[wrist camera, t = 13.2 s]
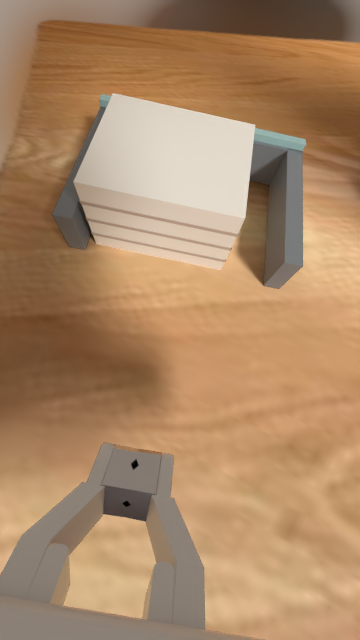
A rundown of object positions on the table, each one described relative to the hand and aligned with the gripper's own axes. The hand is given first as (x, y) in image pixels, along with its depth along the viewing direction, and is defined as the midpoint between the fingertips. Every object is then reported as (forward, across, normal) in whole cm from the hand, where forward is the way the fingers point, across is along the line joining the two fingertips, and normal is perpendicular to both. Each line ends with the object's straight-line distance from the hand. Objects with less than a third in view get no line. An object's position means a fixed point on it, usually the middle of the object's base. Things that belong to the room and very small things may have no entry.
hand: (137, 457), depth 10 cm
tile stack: (+20, +2, -8) cm, 22 cm away
